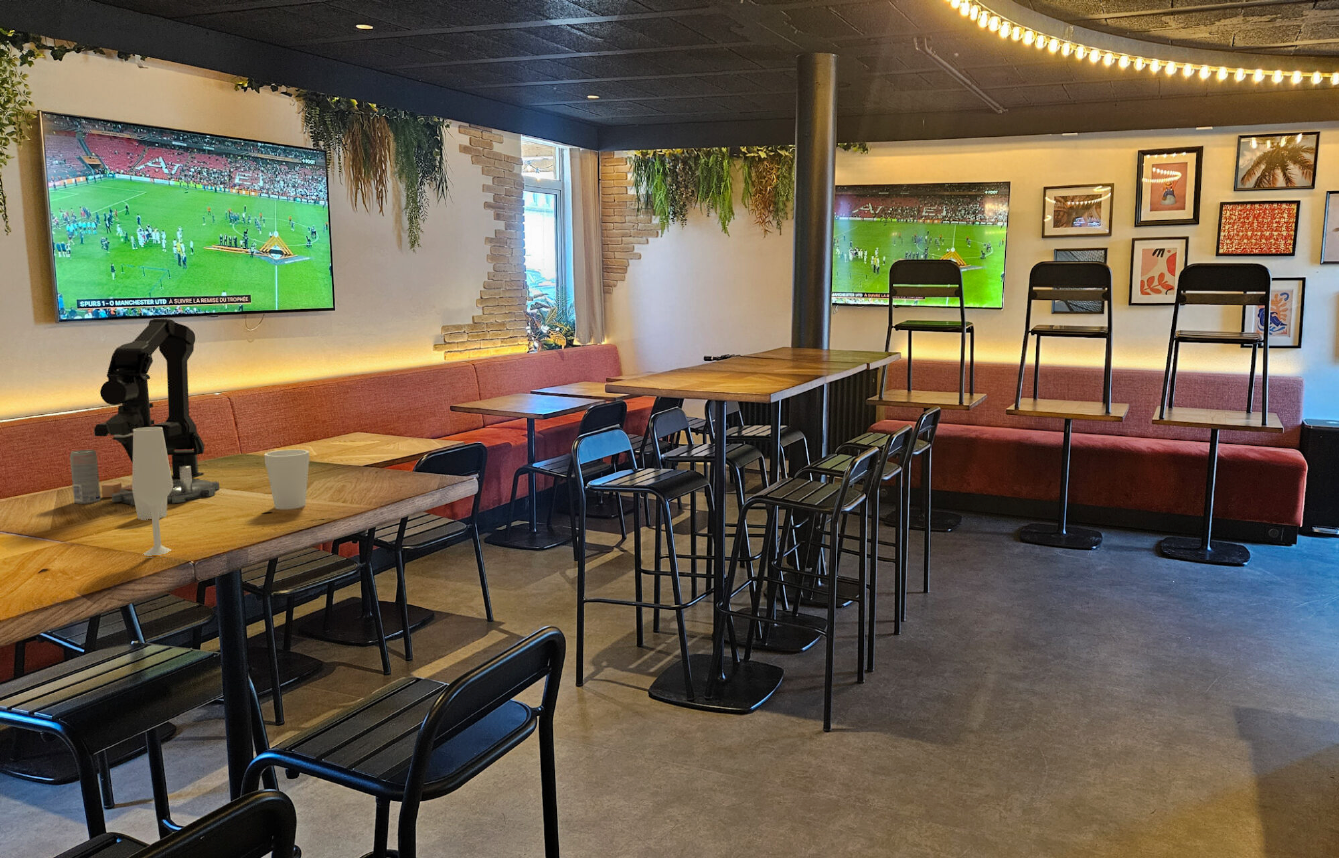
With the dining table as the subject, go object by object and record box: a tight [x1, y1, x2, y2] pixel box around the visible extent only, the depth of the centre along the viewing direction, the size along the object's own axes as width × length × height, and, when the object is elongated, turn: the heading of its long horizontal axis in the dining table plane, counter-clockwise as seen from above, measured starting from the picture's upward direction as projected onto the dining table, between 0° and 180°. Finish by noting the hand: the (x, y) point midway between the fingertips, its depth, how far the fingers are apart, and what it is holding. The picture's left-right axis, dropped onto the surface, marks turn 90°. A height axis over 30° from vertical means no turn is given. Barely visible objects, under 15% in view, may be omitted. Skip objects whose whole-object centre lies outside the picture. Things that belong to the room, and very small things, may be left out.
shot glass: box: [132, 490, 168, 521], centre depth 211 cm, size 7×7×7 cm
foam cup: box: [264, 448, 310, 510], centre depth 218 cm, size 10×9×13 cm
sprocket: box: [111, 466, 220, 506], centre depth 232 cm, size 23×23×8 cm
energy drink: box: [69, 449, 102, 505], centre depth 228 cm, size 5×5×12 cm
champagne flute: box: [131, 427, 173, 556], centre depth 179 cm, size 7×7×24 cm
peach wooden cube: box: [100, 482, 123, 498], centre depth 234 cm, size 3×3×3 cm
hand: (140, 464), depth 232 cm, fingers open, 3 cm apart
